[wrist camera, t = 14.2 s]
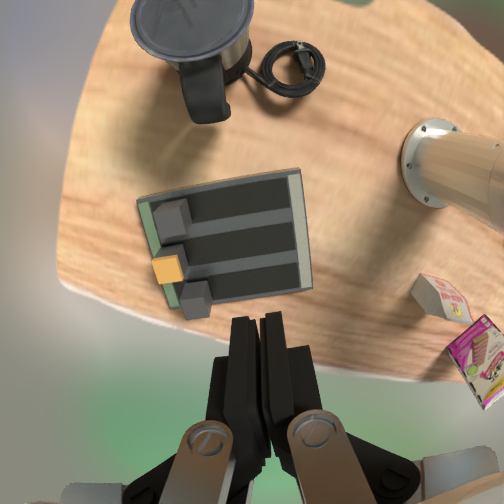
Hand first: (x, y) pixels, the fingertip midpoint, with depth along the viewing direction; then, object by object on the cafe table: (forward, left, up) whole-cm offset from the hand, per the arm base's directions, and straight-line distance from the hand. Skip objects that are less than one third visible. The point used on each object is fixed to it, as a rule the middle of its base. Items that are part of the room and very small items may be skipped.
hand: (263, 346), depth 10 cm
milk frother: (-2, -16, -28) cm, 32 cm away
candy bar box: (-39, +35, -28) cm, 59 cm away
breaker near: (+9, +1, -26) cm, 27 cm away
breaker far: (+9, +12, -26) cm, 30 cm away
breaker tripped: (+11, +7, -26) cm, 29 cm away
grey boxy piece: (-26, +20, -28) cm, 43 cm away
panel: (+4, +7, -28) cm, 29 cm away
